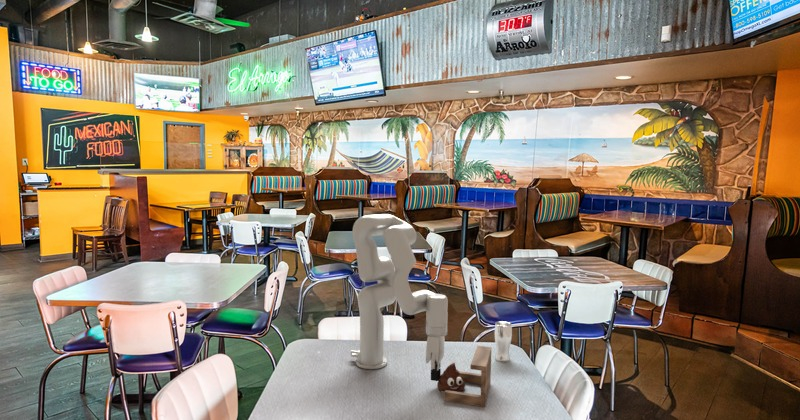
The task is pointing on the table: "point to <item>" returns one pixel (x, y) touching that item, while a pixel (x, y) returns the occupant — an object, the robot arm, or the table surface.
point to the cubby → (475, 379)
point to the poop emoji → (451, 380)
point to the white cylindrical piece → (503, 340)
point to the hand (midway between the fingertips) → (435, 379)
